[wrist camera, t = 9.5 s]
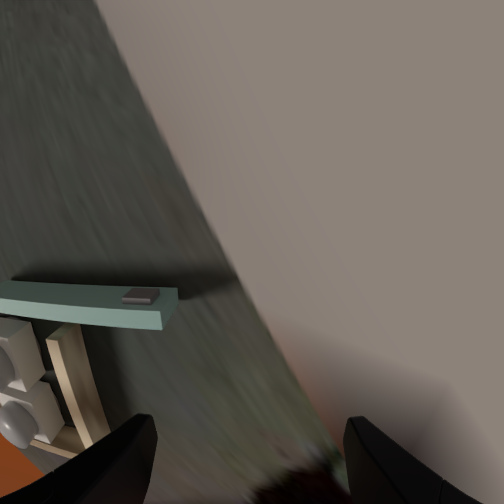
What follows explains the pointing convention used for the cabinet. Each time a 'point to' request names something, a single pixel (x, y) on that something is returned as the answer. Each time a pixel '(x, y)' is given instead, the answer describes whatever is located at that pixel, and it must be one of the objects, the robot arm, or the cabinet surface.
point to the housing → (74, 393)
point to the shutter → (90, 303)
